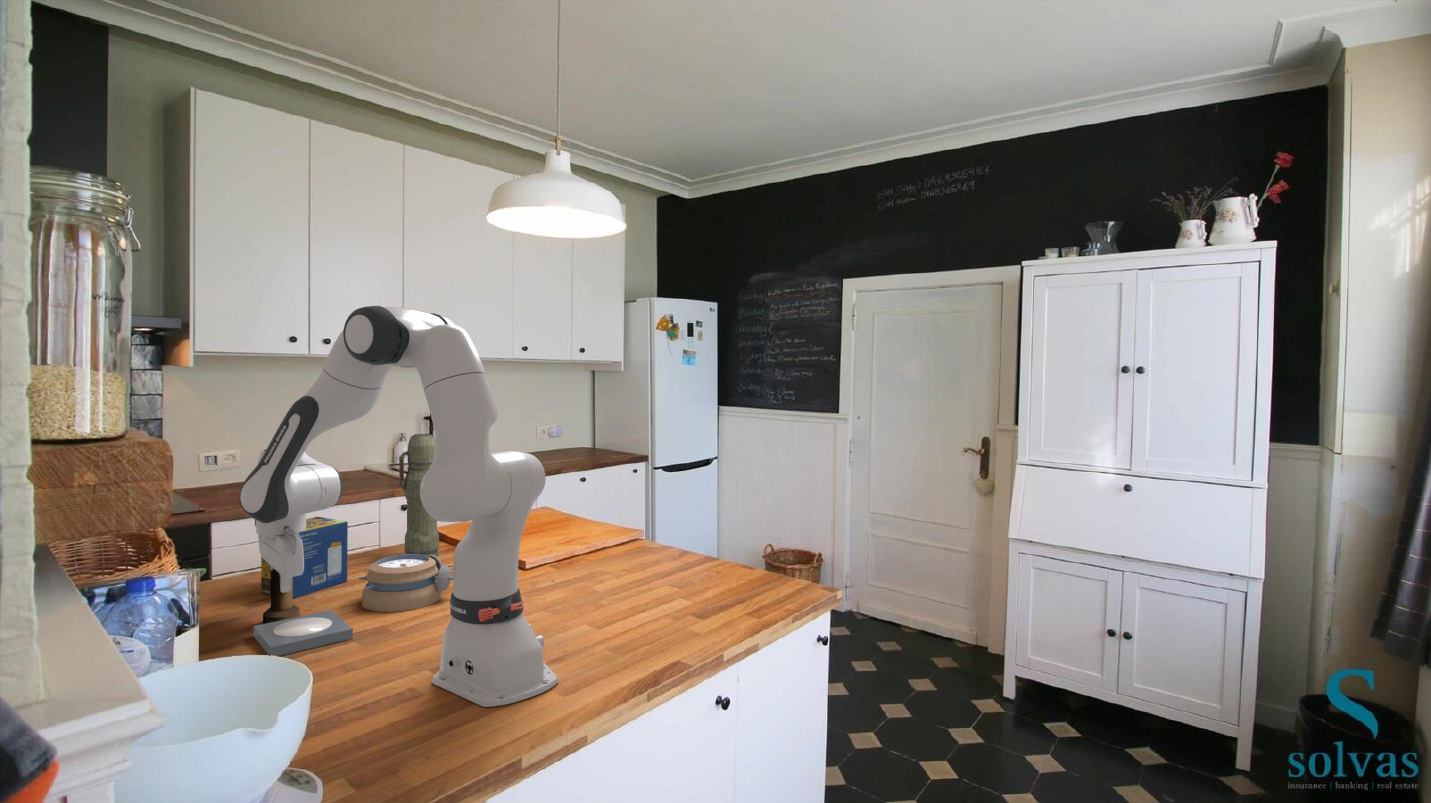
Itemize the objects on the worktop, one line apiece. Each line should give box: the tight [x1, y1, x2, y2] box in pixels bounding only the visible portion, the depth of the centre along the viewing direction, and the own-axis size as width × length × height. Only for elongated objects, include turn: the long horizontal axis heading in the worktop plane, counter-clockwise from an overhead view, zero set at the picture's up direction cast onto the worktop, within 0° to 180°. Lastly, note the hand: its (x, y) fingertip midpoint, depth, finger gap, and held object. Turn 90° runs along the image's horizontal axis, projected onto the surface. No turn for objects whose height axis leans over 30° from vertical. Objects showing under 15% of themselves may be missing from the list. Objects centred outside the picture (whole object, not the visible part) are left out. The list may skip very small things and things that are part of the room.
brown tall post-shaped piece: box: [262, 569, 301, 624], centre depth 145 cm, size 7×6×18 cm
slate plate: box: [252, 609, 354, 657], centre depth 137 cm, size 14×14×2 cm
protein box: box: [260, 516, 349, 600], centre depth 167 cm, size 10×15×16 cm
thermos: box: [398, 433, 440, 558], centre depth 194 cm, size 9×12×35 cm
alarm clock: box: [358, 553, 454, 613], centre depth 162 cm, size 17×9×23 cm
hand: (281, 588), depth 145 cm, fingers closed on brown tall post-shaped piece, 4 cm apart
